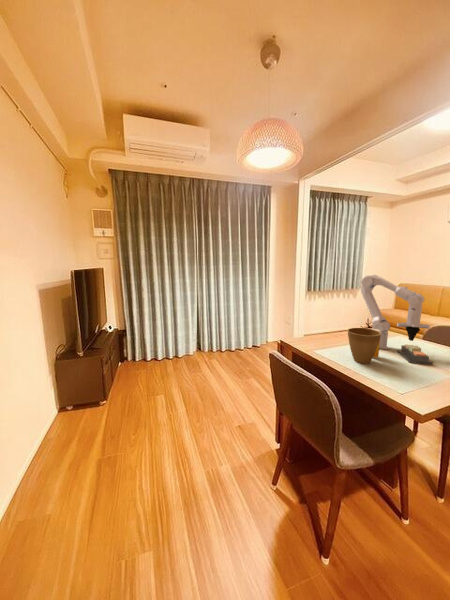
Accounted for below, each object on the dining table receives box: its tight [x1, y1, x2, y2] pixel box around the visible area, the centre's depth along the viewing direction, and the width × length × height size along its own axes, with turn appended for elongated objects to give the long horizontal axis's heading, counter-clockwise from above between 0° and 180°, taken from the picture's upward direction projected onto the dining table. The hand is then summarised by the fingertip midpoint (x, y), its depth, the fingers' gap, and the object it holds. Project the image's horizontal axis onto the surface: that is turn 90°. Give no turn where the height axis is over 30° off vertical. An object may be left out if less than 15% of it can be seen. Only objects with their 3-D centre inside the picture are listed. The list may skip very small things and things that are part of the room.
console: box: [396, 344, 434, 366], centre depth 131 cm, size 10×16×4 cm, turn 164°
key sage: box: [408, 344, 422, 352], centre depth 130 cm, size 4×4×3 cm
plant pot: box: [347, 327, 381, 365], centre depth 126 cm, size 15×15×16 cm
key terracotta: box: [413, 351, 427, 357], centre depth 125 cm, size 4×4×3 cm
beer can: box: [371, 328, 381, 359], centre depth 132 cm, size 6×6×15 cm
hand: (410, 340), depth 135 cm, fingers closed
